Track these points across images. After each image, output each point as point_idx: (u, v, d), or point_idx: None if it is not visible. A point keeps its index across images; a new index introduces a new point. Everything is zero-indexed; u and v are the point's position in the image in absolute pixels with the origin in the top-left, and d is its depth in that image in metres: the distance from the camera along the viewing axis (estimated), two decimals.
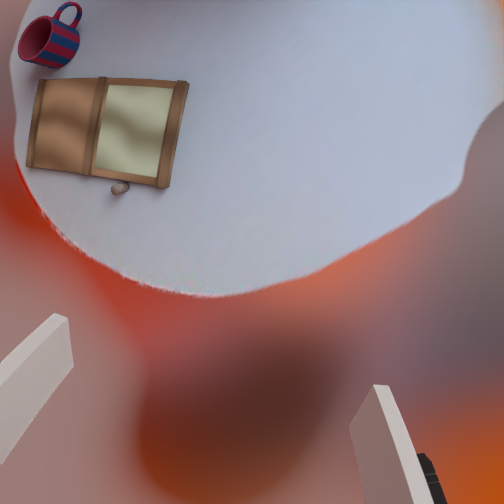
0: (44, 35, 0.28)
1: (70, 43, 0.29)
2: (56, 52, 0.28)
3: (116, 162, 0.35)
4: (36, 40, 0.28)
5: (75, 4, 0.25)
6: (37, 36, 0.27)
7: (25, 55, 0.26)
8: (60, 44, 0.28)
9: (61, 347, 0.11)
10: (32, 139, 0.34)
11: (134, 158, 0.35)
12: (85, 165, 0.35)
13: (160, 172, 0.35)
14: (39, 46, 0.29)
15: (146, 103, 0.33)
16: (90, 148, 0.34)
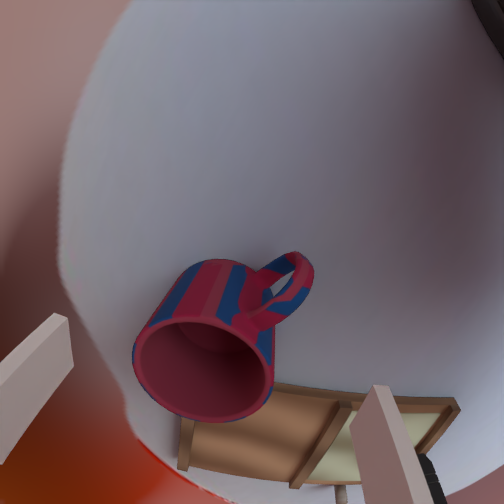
0: None
1: None
2: None
3: (341, 475, 0.24)
4: None
5: None
6: None
7: (163, 384, 0.15)
8: None
9: (61, 347, 0.11)
10: (188, 450, 0.23)
11: None
12: (297, 483, 0.23)
13: None
14: None
15: None
16: (309, 472, 0.23)
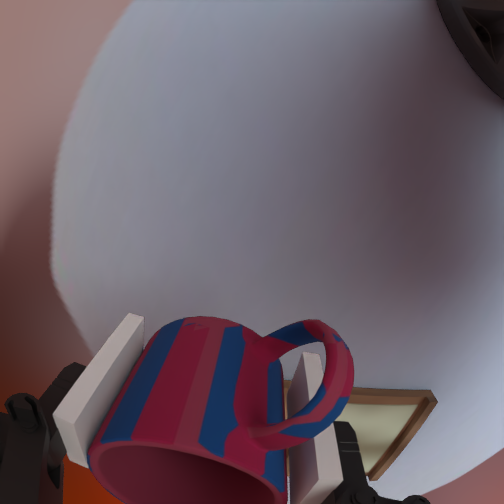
0: None
1: None
2: None
3: None
4: None
5: None
6: None
7: (136, 484, 0.09)
8: None
9: (137, 346, 0.12)
10: None
11: None
12: None
13: (377, 472, 0.25)
14: None
15: (380, 422, 0.23)
16: None
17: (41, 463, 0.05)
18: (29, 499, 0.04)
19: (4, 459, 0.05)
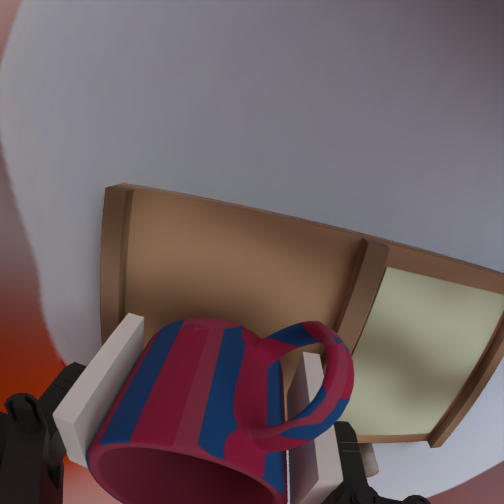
0: None
1: None
2: None
3: (368, 424, 0.16)
4: None
5: None
6: None
7: (136, 485, 0.09)
8: None
9: (137, 346, 0.12)
10: None
11: (406, 415, 0.16)
12: None
13: (445, 432, 0.16)
14: None
15: (461, 324, 0.14)
16: None
17: (41, 463, 0.05)
18: (29, 499, 0.04)
19: (4, 459, 0.05)
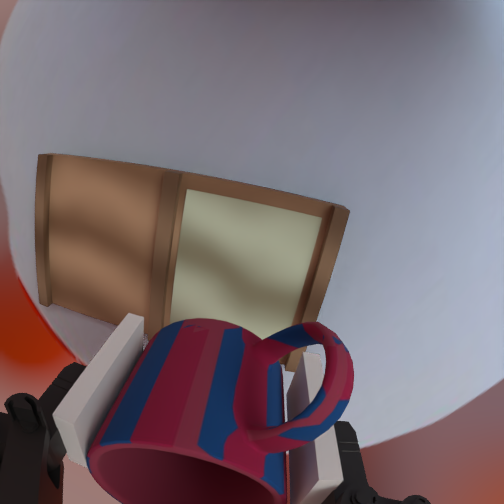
0: None
1: None
2: None
3: None
4: None
5: None
6: None
7: (136, 486, 0.09)
8: None
9: (137, 346, 0.12)
10: (42, 264, 0.22)
11: (244, 326, 0.23)
12: (153, 329, 0.23)
13: (293, 353, 0.23)
14: None
15: (268, 239, 0.21)
16: (160, 305, 0.22)
17: (41, 463, 0.05)
18: (28, 498, 0.04)
19: (3, 459, 0.05)
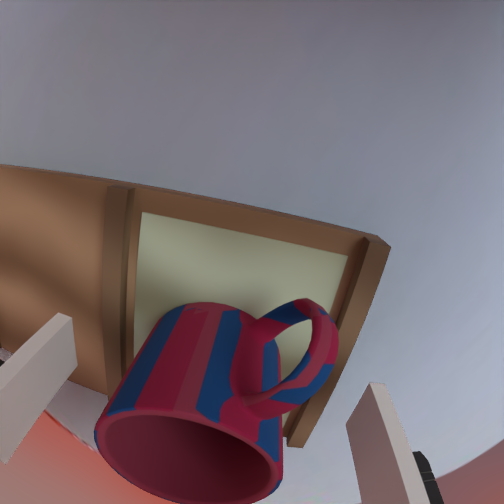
0: None
1: None
2: None
3: None
4: None
5: None
6: None
7: (142, 464, 0.10)
8: None
9: (65, 347, 0.11)
10: None
11: None
12: None
13: (298, 429, 0.16)
14: None
15: (266, 288, 0.14)
16: (118, 369, 0.15)
17: None
18: None
19: None
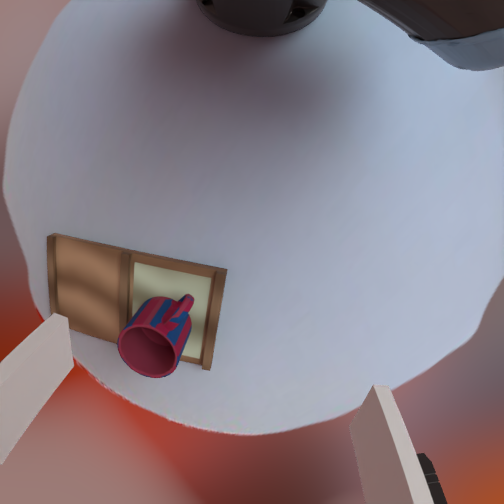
0: None
1: (187, 337, 0.34)
2: None
3: None
4: None
5: (191, 306, 0.30)
6: None
7: (133, 359, 0.31)
8: (182, 352, 0.32)
9: (61, 347, 0.11)
10: (54, 301, 0.35)
11: None
12: None
13: (204, 358, 0.36)
14: (135, 326, 0.34)
15: (181, 290, 0.35)
16: None
17: None
18: None
19: None
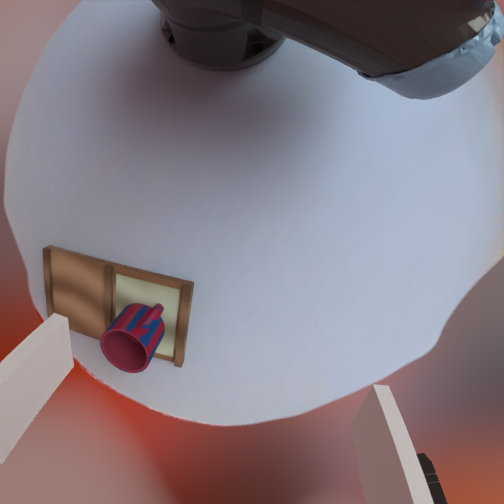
0: None
1: (160, 339, 0.39)
2: None
3: None
4: None
5: (159, 315, 0.35)
6: None
7: (114, 356, 0.36)
8: (154, 351, 0.37)
9: (61, 347, 0.11)
10: (50, 304, 0.40)
11: None
12: None
13: (176, 356, 0.41)
14: None
15: (155, 299, 0.40)
16: None
17: None
18: None
19: None
